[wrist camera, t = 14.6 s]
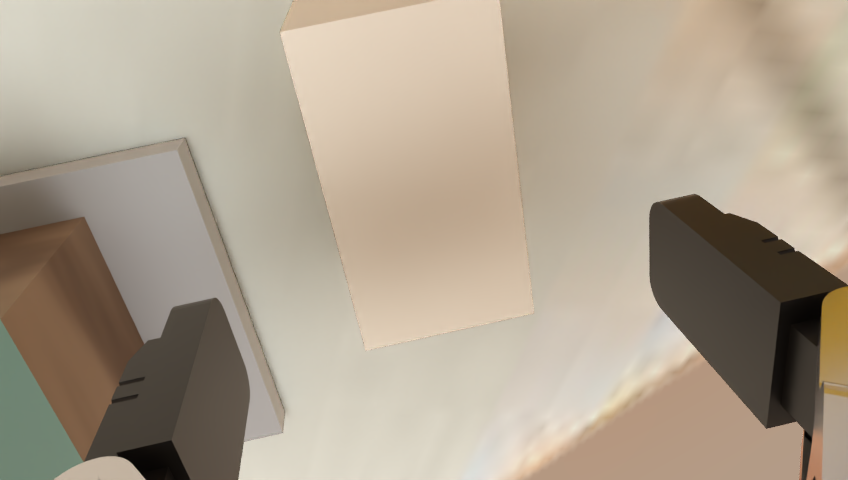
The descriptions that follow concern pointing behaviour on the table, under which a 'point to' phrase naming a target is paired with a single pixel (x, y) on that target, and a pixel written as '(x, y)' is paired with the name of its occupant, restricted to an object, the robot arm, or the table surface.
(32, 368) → the walnut brick
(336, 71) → the cream brick
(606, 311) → the table surface
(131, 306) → the base plate
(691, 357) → the table surface
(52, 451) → the teal brick
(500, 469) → the table surface
